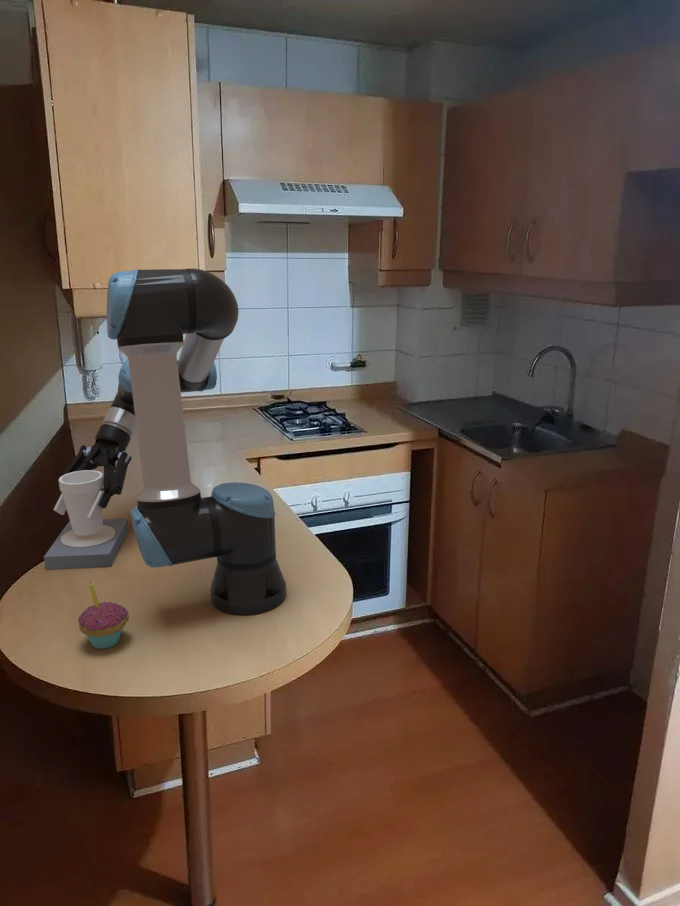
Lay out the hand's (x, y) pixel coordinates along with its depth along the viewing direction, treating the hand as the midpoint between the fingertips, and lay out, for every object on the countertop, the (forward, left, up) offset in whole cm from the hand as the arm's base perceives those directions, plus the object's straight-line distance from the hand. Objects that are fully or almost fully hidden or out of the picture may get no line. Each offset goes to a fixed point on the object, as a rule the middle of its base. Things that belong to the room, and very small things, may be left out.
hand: (75, 516), depth 159 cm
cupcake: (-37, -15, -10) cm, 41 cm away
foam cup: (+3, -2, -5) cm, 6 cm away
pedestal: (+3, -2, -9) cm, 10 cm away
